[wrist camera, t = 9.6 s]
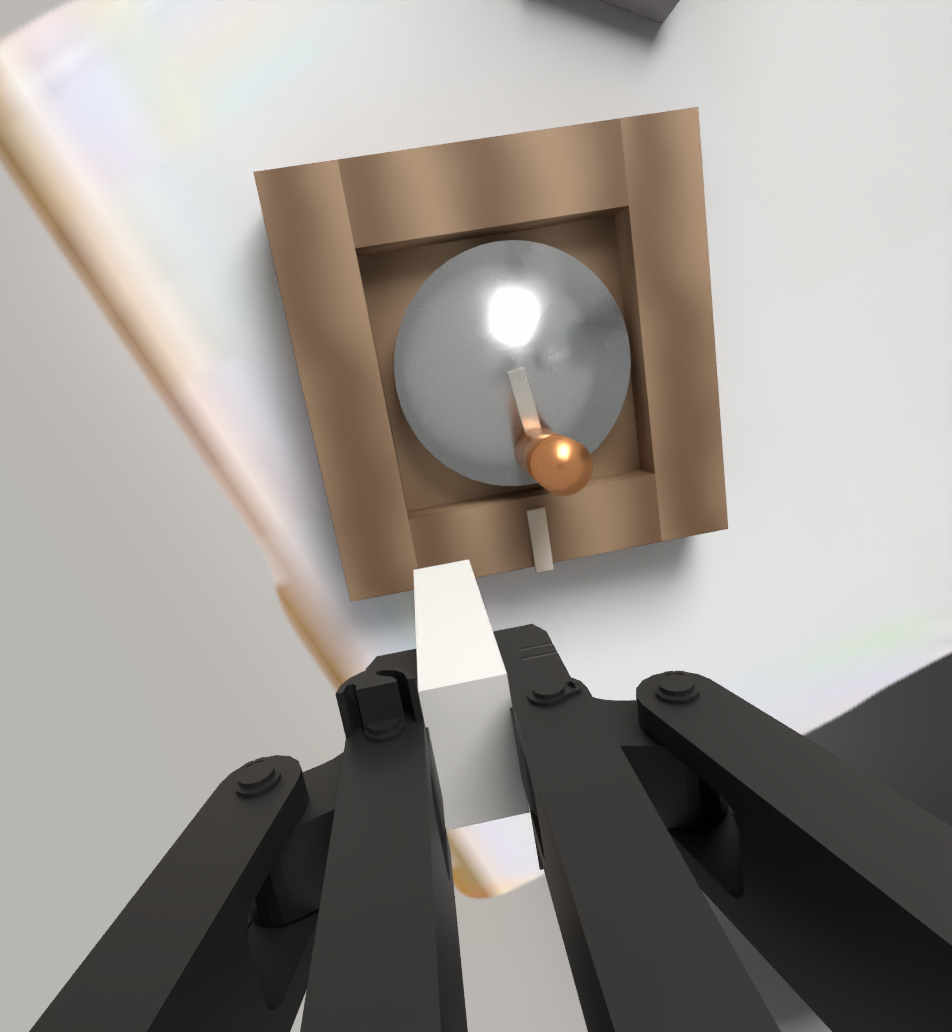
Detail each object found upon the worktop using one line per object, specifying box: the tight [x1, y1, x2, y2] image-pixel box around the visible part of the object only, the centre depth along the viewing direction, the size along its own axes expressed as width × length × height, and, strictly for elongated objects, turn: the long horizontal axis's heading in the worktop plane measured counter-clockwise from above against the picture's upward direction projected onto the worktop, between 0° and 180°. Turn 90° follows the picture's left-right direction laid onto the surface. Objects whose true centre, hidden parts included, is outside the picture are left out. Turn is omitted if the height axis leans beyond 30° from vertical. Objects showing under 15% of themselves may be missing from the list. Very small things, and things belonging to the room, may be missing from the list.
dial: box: [394, 240, 631, 496], centre depth 32 cm, size 13×13×8 cm
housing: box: [253, 107, 728, 602], centre depth 36 cm, size 22×22×5 cm
